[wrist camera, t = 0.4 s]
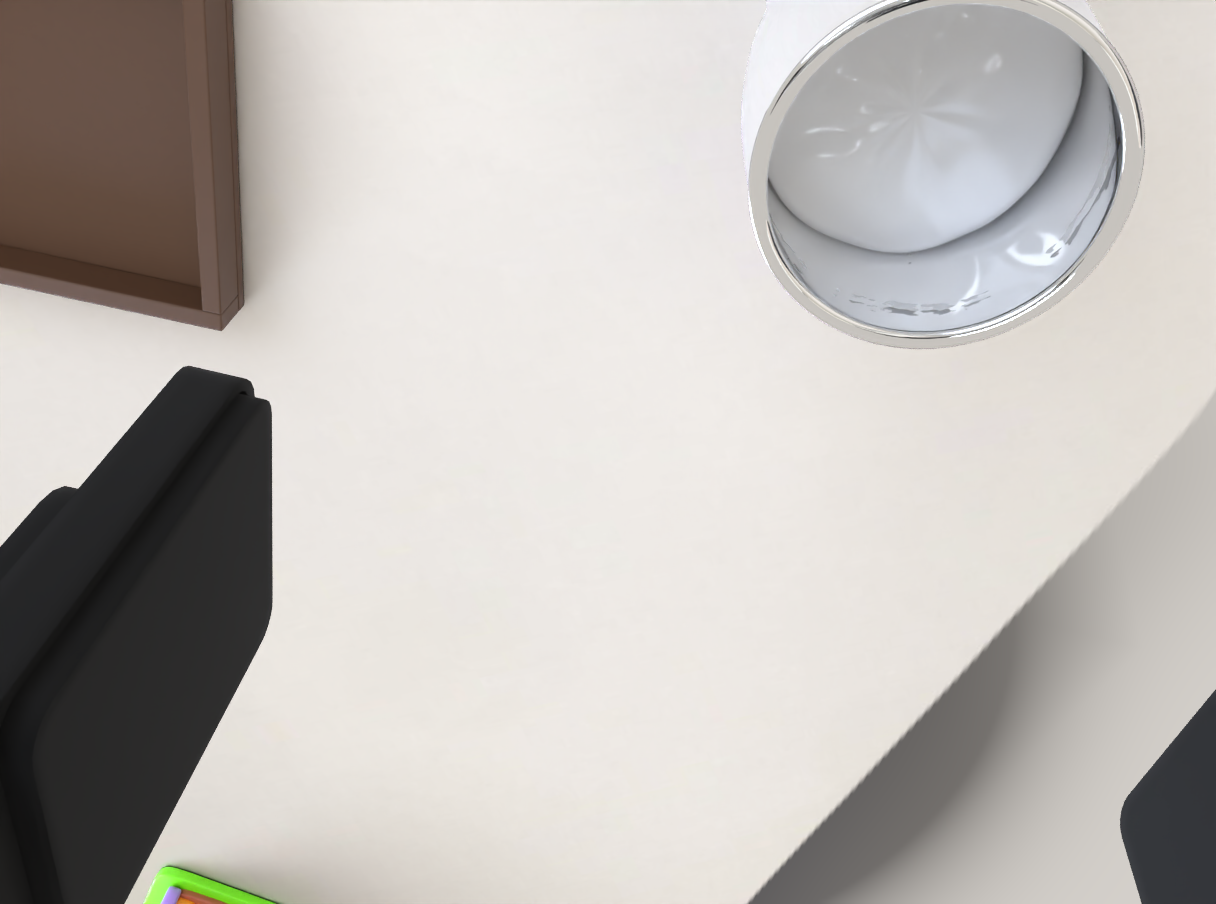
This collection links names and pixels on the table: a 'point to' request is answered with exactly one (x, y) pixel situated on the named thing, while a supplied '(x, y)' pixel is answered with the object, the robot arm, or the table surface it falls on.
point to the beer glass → (936, 160)
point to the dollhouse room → (194, 890)
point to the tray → (122, 155)
